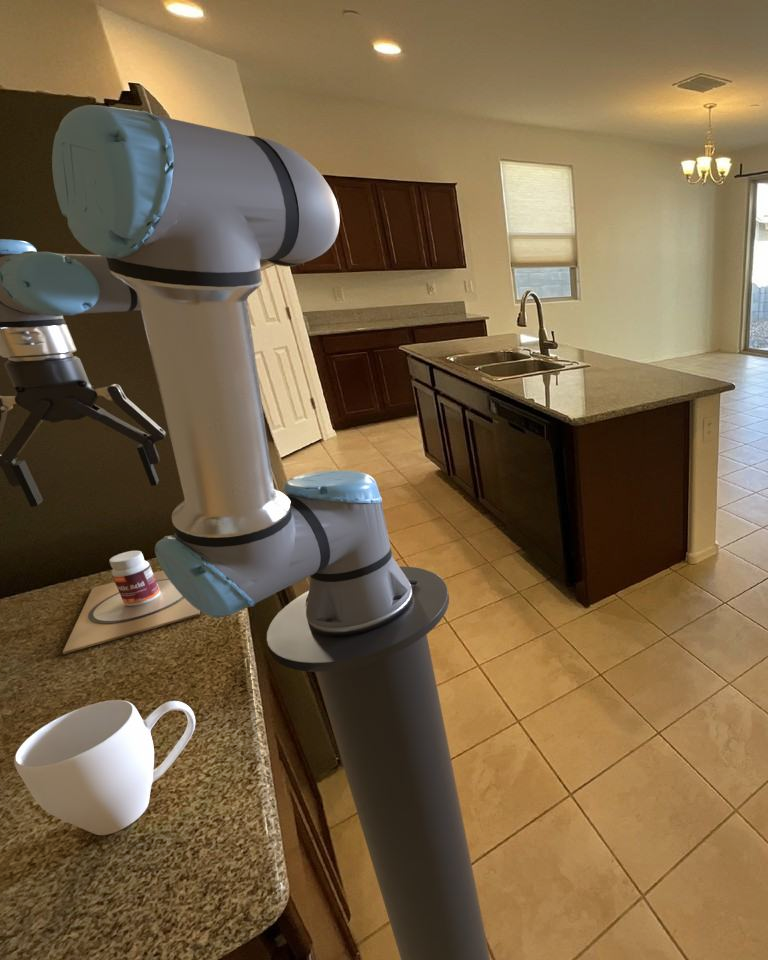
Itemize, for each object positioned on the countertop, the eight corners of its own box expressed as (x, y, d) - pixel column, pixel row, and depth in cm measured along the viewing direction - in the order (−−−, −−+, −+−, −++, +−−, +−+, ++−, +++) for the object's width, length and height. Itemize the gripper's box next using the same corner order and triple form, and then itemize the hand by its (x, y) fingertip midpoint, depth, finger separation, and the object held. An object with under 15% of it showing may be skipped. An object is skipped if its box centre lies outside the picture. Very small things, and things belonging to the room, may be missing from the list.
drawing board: (205, 561, 103) (204, 559, 102) (199, 615, 86) (198, 612, 86) (93, 589, 94) (92, 586, 94) (63, 654, 77) (61, 651, 77)
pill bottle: (119, 609, 87) (99, 565, 84) (131, 595, 91) (113, 552, 88) (155, 602, 89) (137, 559, 86) (165, 588, 93) (149, 547, 90)
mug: (67, 875, 48) (12, 787, 44) (60, 819, 53) (11, 735, 49) (224, 786, 57) (190, 704, 52) (206, 744, 62) (174, 667, 58)
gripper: (-110, 369, 65) (-29, 521, 73) (152, 351, 79) (197, 481, 87) (-82, 363, 71) (-10, 505, 79) (157, 347, 85) (199, 469, 92)
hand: (98, 493), depth 83 cm, fingers open, 13 cm apart
